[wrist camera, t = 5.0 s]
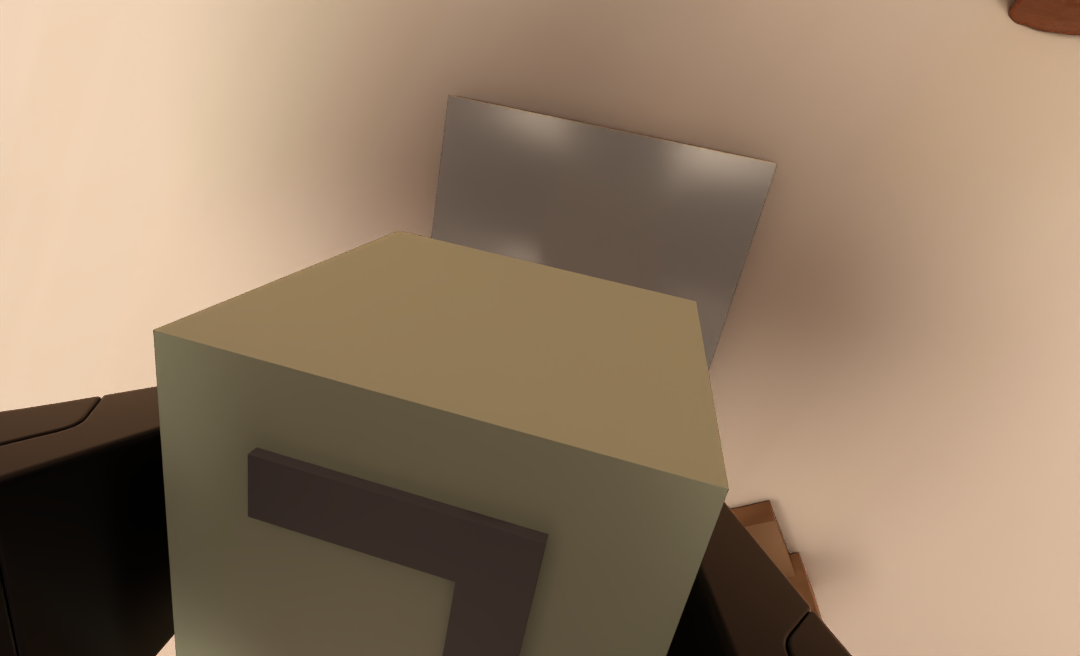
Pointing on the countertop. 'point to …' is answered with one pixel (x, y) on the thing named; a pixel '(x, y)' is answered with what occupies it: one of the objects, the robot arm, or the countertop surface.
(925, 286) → the countertop surface
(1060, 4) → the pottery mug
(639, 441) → the letter cube
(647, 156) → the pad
